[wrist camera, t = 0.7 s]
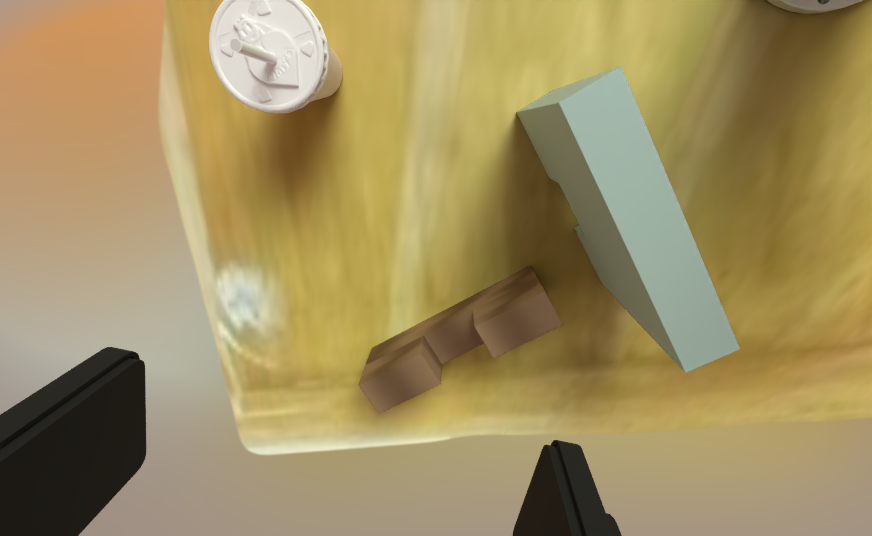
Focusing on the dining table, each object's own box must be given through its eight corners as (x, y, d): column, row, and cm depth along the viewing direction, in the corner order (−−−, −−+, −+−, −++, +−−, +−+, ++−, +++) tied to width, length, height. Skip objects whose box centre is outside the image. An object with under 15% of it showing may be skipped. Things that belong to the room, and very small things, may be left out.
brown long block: (530, 265, 37) (544, 291, 31) (546, 294, 38) (562, 324, 32) (371, 348, 40) (358, 385, 34) (389, 373, 41) (378, 413, 35)
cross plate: (516, 112, 33) (558, 102, 20) (552, 90, 33) (621, 66, 19) (602, 284, 37) (685, 372, 24) (635, 268, 37) (740, 349, 23)
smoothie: (319, 134, 34) (235, 140, 21) (258, 68, 33) (126, 29, 20) (378, 75, 33) (326, 40, 19) (316, 3, 31) (215, -88, 18)
